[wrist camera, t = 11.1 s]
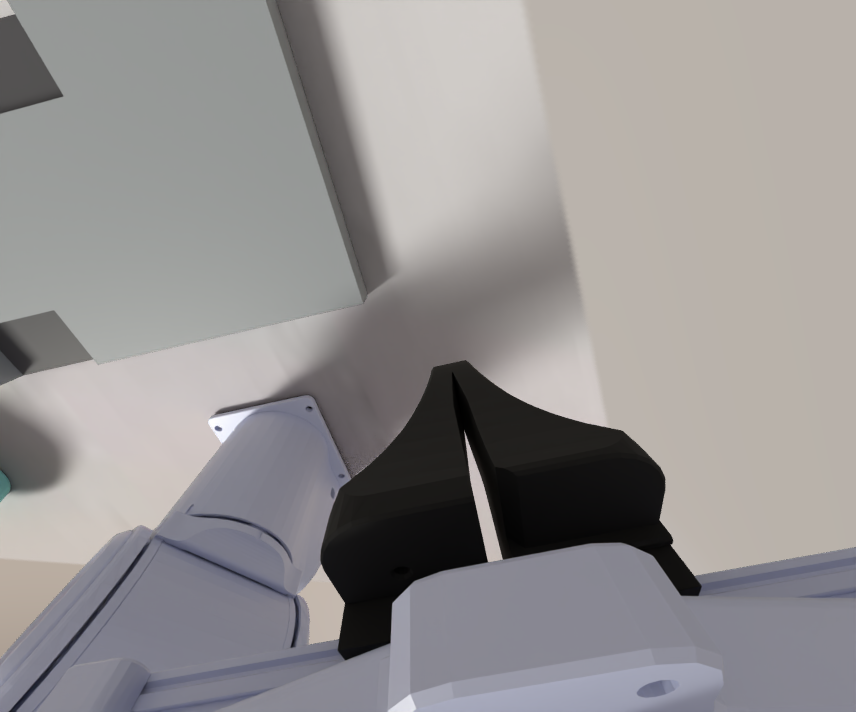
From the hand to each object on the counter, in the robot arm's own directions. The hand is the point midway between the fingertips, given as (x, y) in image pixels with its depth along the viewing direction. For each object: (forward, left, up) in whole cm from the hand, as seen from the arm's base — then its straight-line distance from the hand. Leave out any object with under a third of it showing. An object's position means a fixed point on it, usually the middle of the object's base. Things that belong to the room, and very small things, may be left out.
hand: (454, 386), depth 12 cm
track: (+10, +19, -9) cm, 23 cm away
